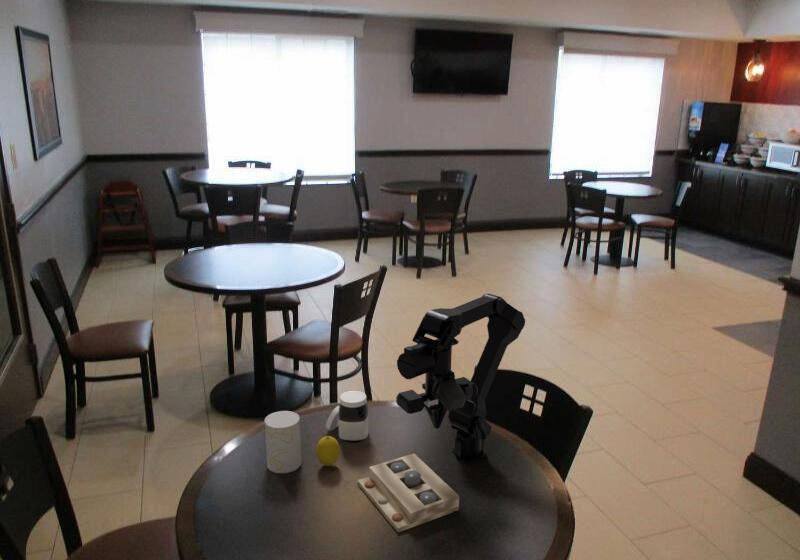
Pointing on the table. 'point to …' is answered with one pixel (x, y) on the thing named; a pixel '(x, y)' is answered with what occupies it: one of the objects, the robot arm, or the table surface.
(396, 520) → the button board
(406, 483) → the button middle
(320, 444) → the lemon
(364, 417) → the spread jar
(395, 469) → the button
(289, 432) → the white cylinder
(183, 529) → the table surface
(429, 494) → the button
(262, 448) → the table surface
